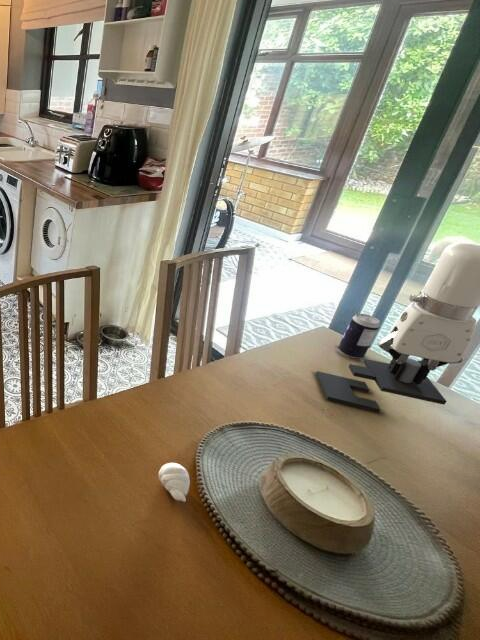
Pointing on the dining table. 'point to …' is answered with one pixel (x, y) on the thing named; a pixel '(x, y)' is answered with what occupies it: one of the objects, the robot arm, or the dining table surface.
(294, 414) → the dining table surface
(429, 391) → the pad
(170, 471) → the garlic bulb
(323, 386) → the notch pad
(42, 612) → the dining table surface
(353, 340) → the beverage can
